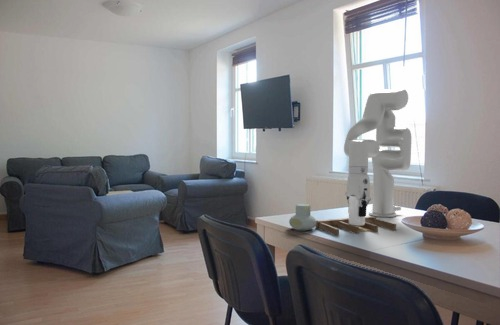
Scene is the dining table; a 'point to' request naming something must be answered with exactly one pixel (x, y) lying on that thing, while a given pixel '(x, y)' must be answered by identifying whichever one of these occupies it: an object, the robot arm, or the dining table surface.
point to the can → (355, 212)
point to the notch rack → (344, 224)
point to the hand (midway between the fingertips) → (357, 214)
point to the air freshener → (302, 218)
